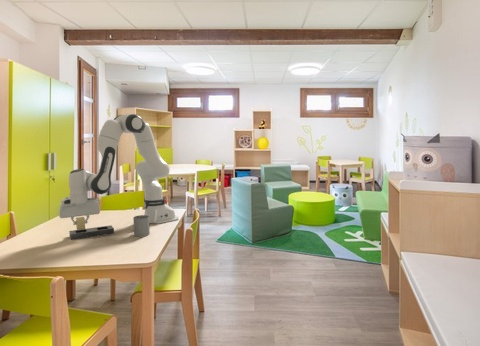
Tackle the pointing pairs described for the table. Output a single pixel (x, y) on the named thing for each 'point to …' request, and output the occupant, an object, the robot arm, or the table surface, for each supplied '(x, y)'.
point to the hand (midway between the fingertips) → (80, 223)
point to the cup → (141, 225)
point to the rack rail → (91, 232)
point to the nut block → (80, 223)
